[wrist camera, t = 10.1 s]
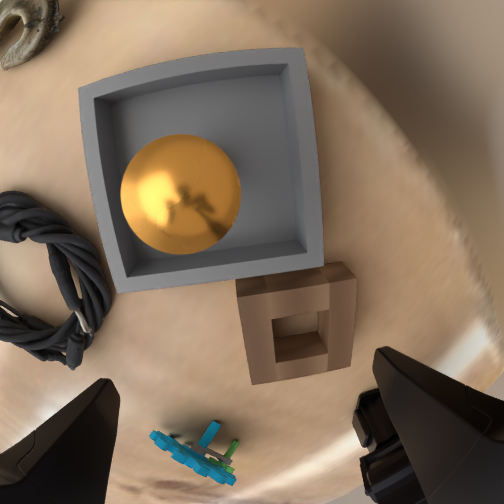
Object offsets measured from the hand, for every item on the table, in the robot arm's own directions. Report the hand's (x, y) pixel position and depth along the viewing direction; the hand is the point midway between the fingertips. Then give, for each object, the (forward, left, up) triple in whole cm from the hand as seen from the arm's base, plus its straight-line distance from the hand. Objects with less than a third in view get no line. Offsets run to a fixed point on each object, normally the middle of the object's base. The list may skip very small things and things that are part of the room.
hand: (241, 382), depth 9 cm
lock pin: (+1, -6, -12) cm, 13 cm away
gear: (+7, +21, -13) cm, 25 cm away
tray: (+1, -6, -13) cm, 14 cm away
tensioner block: (-4, +6, -13) cm, 14 cm away
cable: (+18, -1, -13) cm, 22 cm away
